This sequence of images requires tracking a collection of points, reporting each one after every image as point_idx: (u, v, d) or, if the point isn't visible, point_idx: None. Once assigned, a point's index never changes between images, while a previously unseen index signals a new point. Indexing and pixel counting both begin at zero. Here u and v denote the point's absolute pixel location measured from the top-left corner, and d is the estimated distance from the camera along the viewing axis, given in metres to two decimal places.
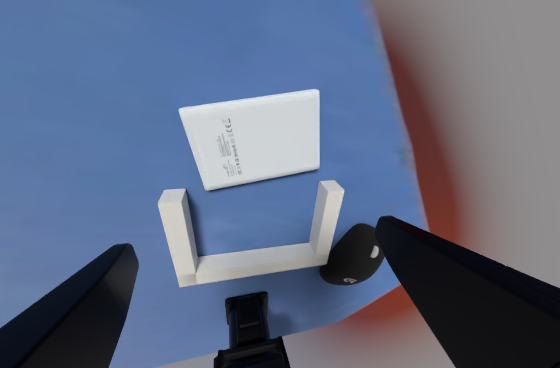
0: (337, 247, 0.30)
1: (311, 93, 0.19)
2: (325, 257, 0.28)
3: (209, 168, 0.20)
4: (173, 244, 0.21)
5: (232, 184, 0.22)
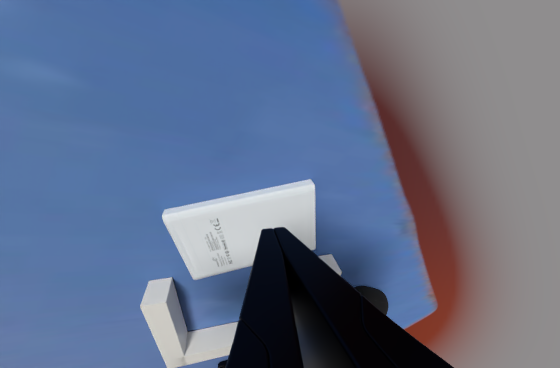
0: None
1: (306, 188, 0.18)
2: None
3: (197, 262, 0.19)
4: (159, 336, 0.20)
5: (222, 272, 0.20)
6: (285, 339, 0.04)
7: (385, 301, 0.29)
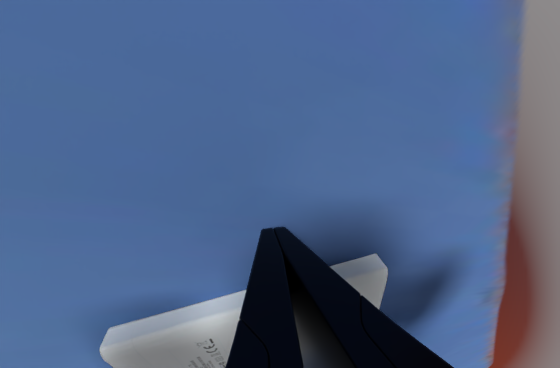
0: None
1: (373, 275, 0.10)
2: None
3: None
4: None
5: None
6: (285, 339, 0.04)
7: None
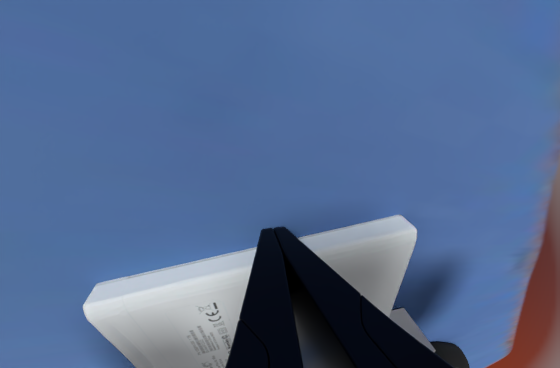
0: None
1: (401, 236, 0.08)
2: None
3: None
4: None
5: None
6: (285, 339, 0.04)
7: (467, 364, 0.19)
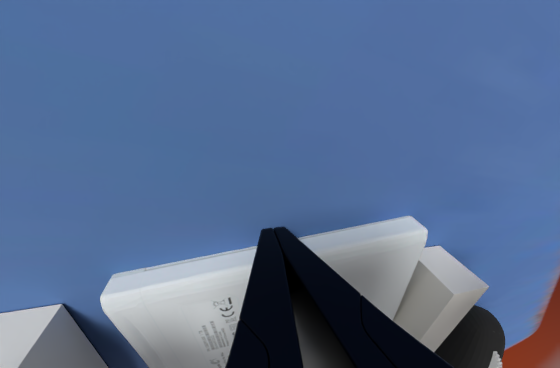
0: None
1: (412, 236, 0.09)
2: None
3: None
4: None
5: None
6: (285, 339, 0.04)
7: (502, 330, 0.17)
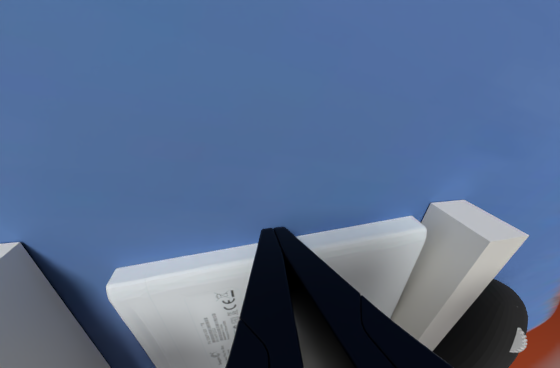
0: None
1: (412, 235, 0.09)
2: None
3: (180, 362, 0.10)
4: None
5: None
6: (285, 339, 0.04)
7: (524, 307, 0.15)
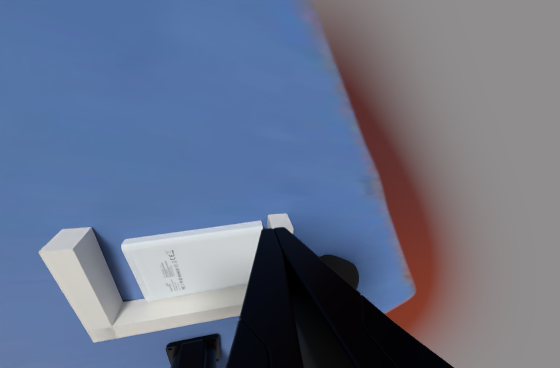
0: None
1: (255, 229, 0.20)
2: None
3: (151, 286, 0.21)
4: (73, 297, 0.17)
5: (175, 296, 0.22)
6: (285, 339, 0.04)
7: (355, 273, 0.27)
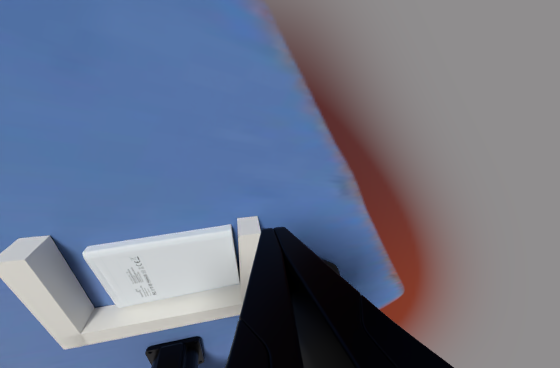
0: None
1: (223, 233, 0.20)
2: None
3: (120, 292, 0.20)
4: (34, 306, 0.17)
5: (147, 301, 0.22)
6: (285, 339, 0.04)
7: None
